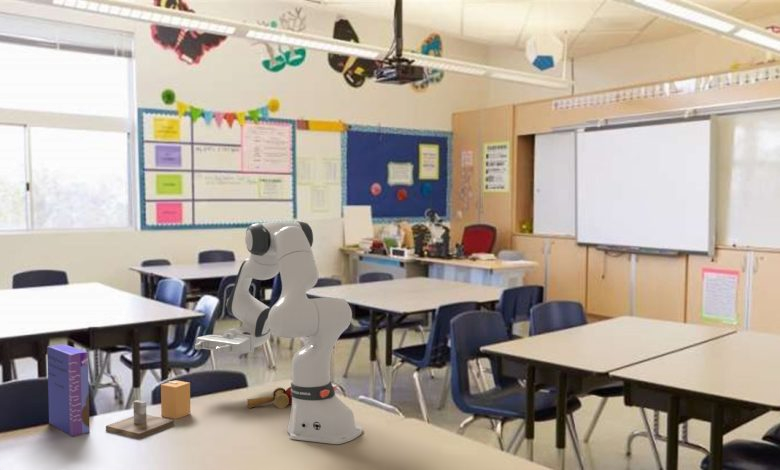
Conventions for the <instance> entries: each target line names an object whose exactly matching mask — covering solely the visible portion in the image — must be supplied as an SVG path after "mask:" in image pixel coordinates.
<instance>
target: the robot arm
mask: <svg viewBox="0 0 780 470" xmlns="http://www.w3.org/2000/svg"><path fill="white" fill-rule="evenodd" d="M244 237H245V239H244V241H245V245H246V246H245V247H246V249H247V251H248V252H249V253H250V256H249V257H248V258H246V259H245V260H243V262H242V263H241V265H240V267H239V270H238V272H237V275H236V279H235V282H234V285H233V288H232V290H231V293H230V295H229V297H228V298H227V302H226V311H227V313H228V315H230V316H232V317H234V318H235V319H237V320H239V321H241V322H242V326H237V327H233V328H229V329H227V330H225V331H224V332H223V335H218V334H217V335H216V334H206V335H203V336H197V337H196V338H195V340H196V341H195V344H194V350H198V351H200V350H202V349H203V350H210V351H215V352H216V353H217V354H221V353H228V354H230V355H243V354H252V353H254V351H255V348H258V347H260V346H262V345H263V344H265V343H266V342H267V341H268V340H269V339H270V337H271V335H274V336H275V337H276V338H283V339H298V338H307V337H308V340H307V341H306V343H305V345H303V347H301V348H299V350H297V351H296V352H295V353H294V354H293V356H292V357H293V358H292V359H291V360H292V361H291V362H292V363H291V368H292V369H291V370H292V373H291V375H292V376H291V377H292V379H291V381H292V382H291V383H290V387H291V397H292V404H291V408H290V409H291V410H290V416H289V417H290V418H289V422H288V426H287V429H286V431H287V433H288V434H289V439H291V440H299V441H304V442H306V441H307V442H312V443H321V444H323V443H324V444H331V445H341V444H345V443H348V442H351V441H352V440H355V439H356V438H358V437H359V436H360V435H362V433H363V430H364V429H363V427H362V426H360V425H357V424H356V421H355V416H354V412H353V410H352V409H351V408H350V407H349V406H347V405H346V404H345V403H344V402H343V401H342V400H341V399H340V398H339V397H338V396H337V395H336V392H335V391H336V390H338V387H339V386H338V385H334V386H333V384H332V381H331V379H330V378H331V377H330V376H331V358H332V353H333V349H334V347H335V345H336V343H337V340H338V339H339V338H340V337H341V335H342V334H343V333H344V332H345V331H346V330H347V329H348V328H349V327H350V325H351V322H352V317H353V313H352V312H353V311H352V309H351V307H350V305H349V303H348V301H346V300H345V299H343V298H339V297H330V296H329V297H317V298H315V297H314V298H309V297H308V296H307V292H308V291H310V290H311V289H313V288H314V287H315V286H316V284H317V283H318V280H319V271H318V268H317V264H316V260H315V258H314V254H313V251H312V250H313V249H312V246H313V244H314V233H313V230H312V227H311V226H310V225H309V223H307V222H304V221H280V220H278V221H276V220H275V221H267V222H256V223H252V224H250V225H248V227H247V229H246V232H245V236H244ZM278 274H280V281H281V293H280V295H279V298H278V300H277V301H276V302H275V303H274V304H273V305H272V306H271V307H270V306H268V305H267V304H265V303H264V302H262V301H260V300H258V299H257V298H255V296H253V295H252V294H251V293H250V290H249V289H250V286H251V283H252V281H253V279H254V280H259V281H266V280H270V279H273V278H275V277H276V276H277V275H278Z"/></svg>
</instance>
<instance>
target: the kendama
mask: <svg viewBox="0 0 780 470" xmlns="http://www.w3.org/2000/svg"><path fill="white" fill-rule="evenodd" d="M246 401H247V407H248V409H252V408H254V407H255V408H256V407H259V406H262V405H265V404H266V405H267V404H269V403H272V402H274V405H275V406H276V408H278V409H279V408H280V409H281V408H286V407H287V406H288V405H292V397H291V386H289V387H287V388H286V389H285V388H283V387H276V388H275V389H274V390H273V392H272V395H271V396H261V397H255V398H247V400H246Z"/></svg>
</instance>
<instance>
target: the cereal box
mask: <svg viewBox="0 0 780 470" xmlns="http://www.w3.org/2000/svg"><path fill="white" fill-rule="evenodd" d="M46 352H47V353H46V354H47V356H46V357H47V360H46V361H47V390H48V393H47V394H48V395H47V397H48V399H47V401H48V424H49V425H51V426H53V427H54V428H56V429H59V430H60V431H62V432H63V433H65V434H68V435H69V436H70V437H78V436H82V435H87V434H90V433H91V431H90V427H91V426H90V394H89V393H90V391H89V390H90V389H89V387H90V385H89V383H90V381H89V352H88V351H85V350H83V349H79V348H76V347H73V346H70V345H68V344H65V343H58V344H51V345H48V346H46Z"/></svg>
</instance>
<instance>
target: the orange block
mask: <svg viewBox="0 0 780 470" xmlns="http://www.w3.org/2000/svg"><path fill="white" fill-rule="evenodd" d="M160 400H161V401H160V403H161V404H160V405H161V410H160V411H161V415H160V416H161V417H163V418H165V417H166V418H169V419H173V420H174V419H175V420H178V419H179V418H183V417H185V415H186V416H187V414H188V415H190V414H191V382H189V381H188V382H187V381H183V380H182V381H181V380H175V379H174V380H172V381H170V380H169V381H167V382H165V383H162V384H160ZM189 413H190V414H189ZM182 416H183V417H182ZM177 418H178V419H177Z"/></svg>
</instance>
